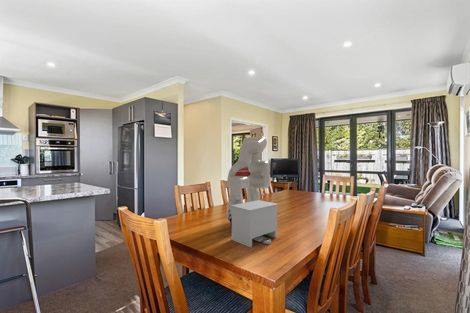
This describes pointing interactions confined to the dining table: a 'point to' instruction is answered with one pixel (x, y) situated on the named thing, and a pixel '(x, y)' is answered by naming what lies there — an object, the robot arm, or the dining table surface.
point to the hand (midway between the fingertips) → (235, 227)
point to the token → (266, 241)
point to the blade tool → (257, 238)
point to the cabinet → (253, 221)
